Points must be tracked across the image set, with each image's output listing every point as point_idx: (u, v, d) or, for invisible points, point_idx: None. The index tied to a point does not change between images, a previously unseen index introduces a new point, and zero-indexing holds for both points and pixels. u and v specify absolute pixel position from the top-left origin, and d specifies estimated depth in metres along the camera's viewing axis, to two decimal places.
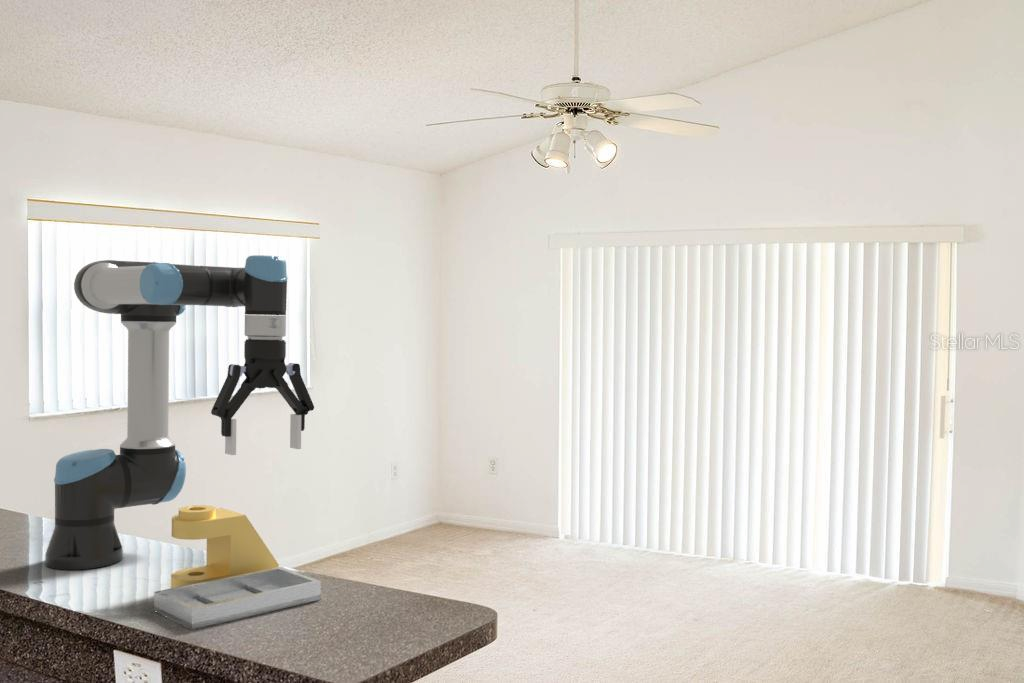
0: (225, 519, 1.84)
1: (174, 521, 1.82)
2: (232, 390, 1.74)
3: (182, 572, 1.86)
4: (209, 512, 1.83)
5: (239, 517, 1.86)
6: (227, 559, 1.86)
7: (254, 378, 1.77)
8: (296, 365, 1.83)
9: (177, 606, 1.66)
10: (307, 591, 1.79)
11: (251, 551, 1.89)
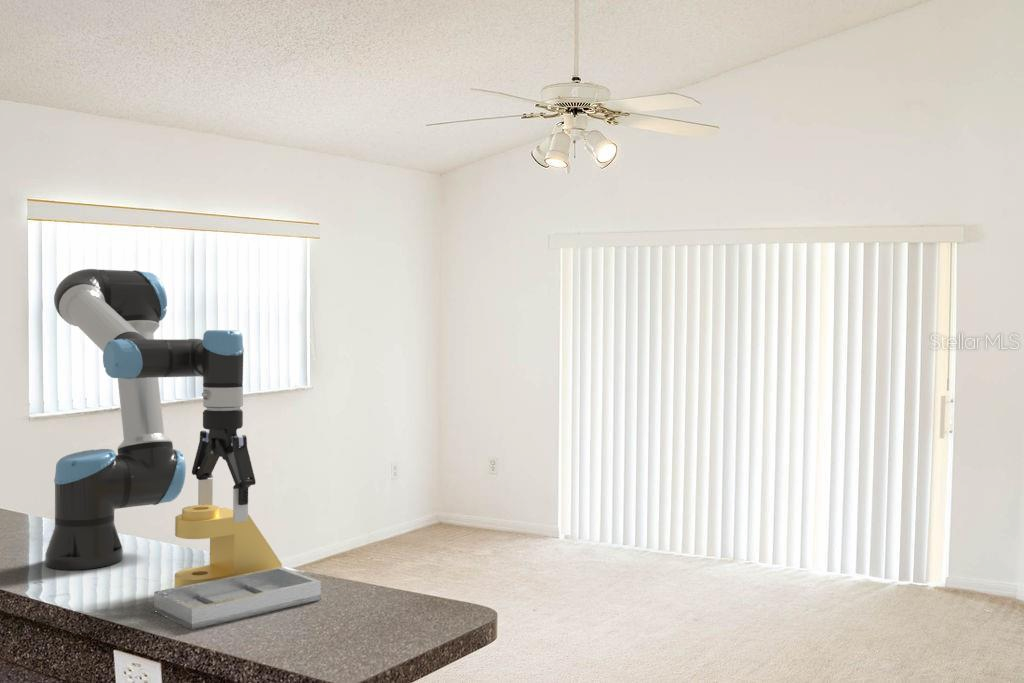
0: (228, 519, 1.85)
1: (178, 521, 1.82)
2: (199, 453, 1.92)
3: (185, 571, 1.86)
4: (213, 512, 1.84)
5: None
6: (230, 558, 1.87)
7: None
8: (232, 437, 1.83)
9: (177, 606, 1.66)
10: (307, 591, 1.79)
11: (254, 550, 1.89)
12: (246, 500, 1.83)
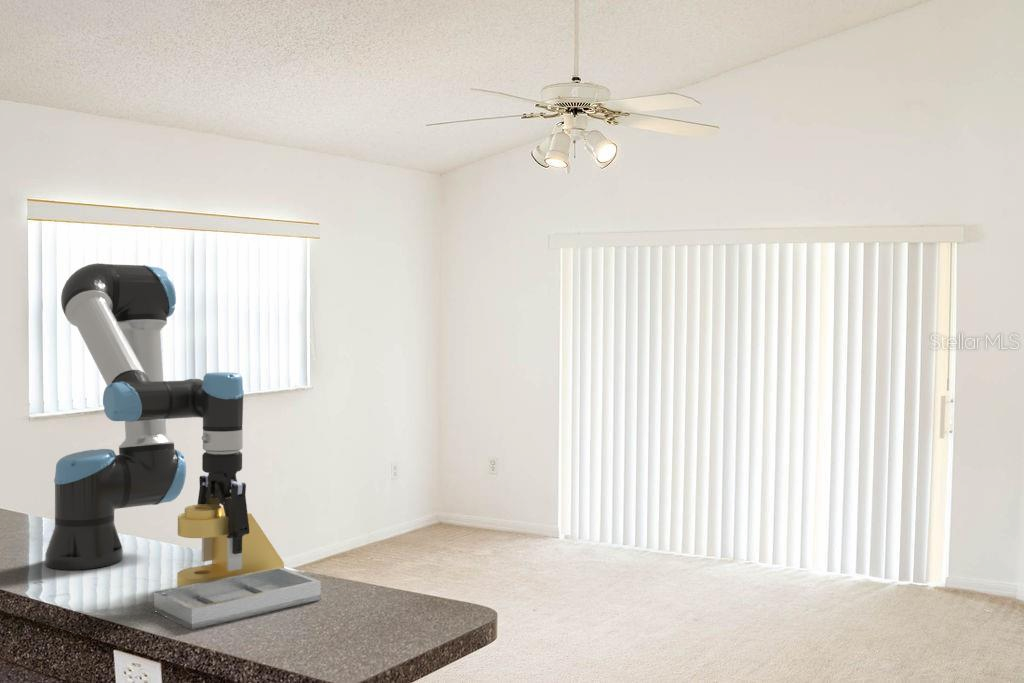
0: None
1: (180, 520, 1.82)
2: (200, 499, 1.92)
3: (188, 571, 1.87)
4: (215, 511, 1.84)
5: None
6: None
7: None
8: (232, 485, 1.83)
9: (177, 606, 1.66)
10: (307, 591, 1.79)
11: (257, 549, 1.89)
12: (240, 549, 1.85)
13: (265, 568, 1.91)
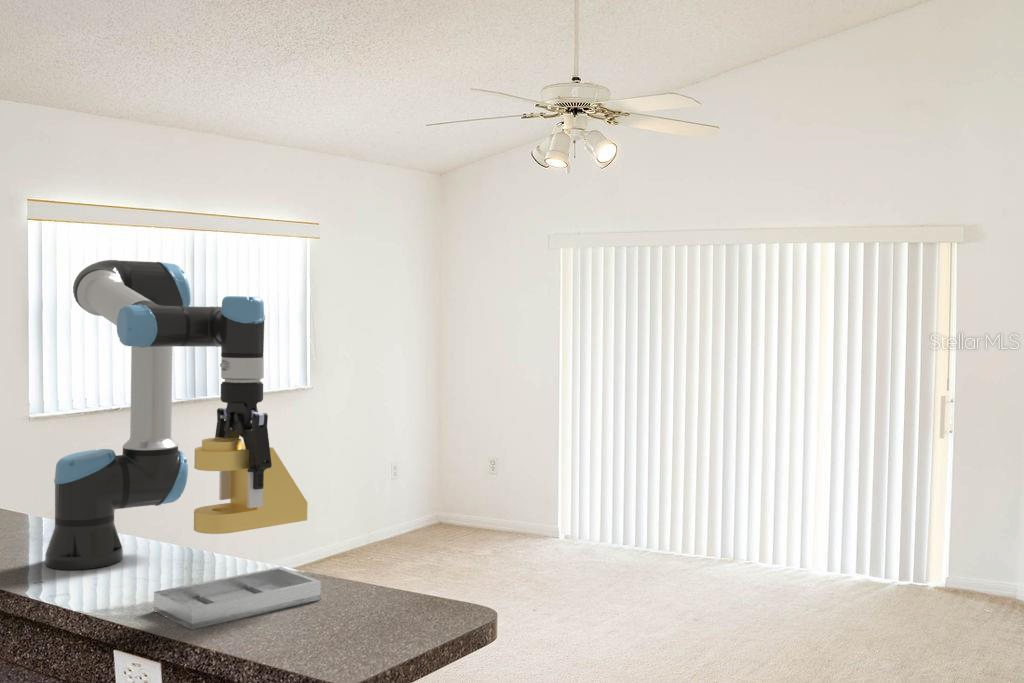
0: None
1: (197, 452, 1.70)
2: (218, 433, 1.79)
3: (205, 508, 1.74)
4: (235, 443, 1.71)
5: None
6: None
7: None
8: (253, 415, 1.71)
9: (177, 606, 1.66)
10: (307, 591, 1.79)
11: (279, 486, 1.76)
12: (261, 484, 1.72)
13: (287, 507, 1.78)
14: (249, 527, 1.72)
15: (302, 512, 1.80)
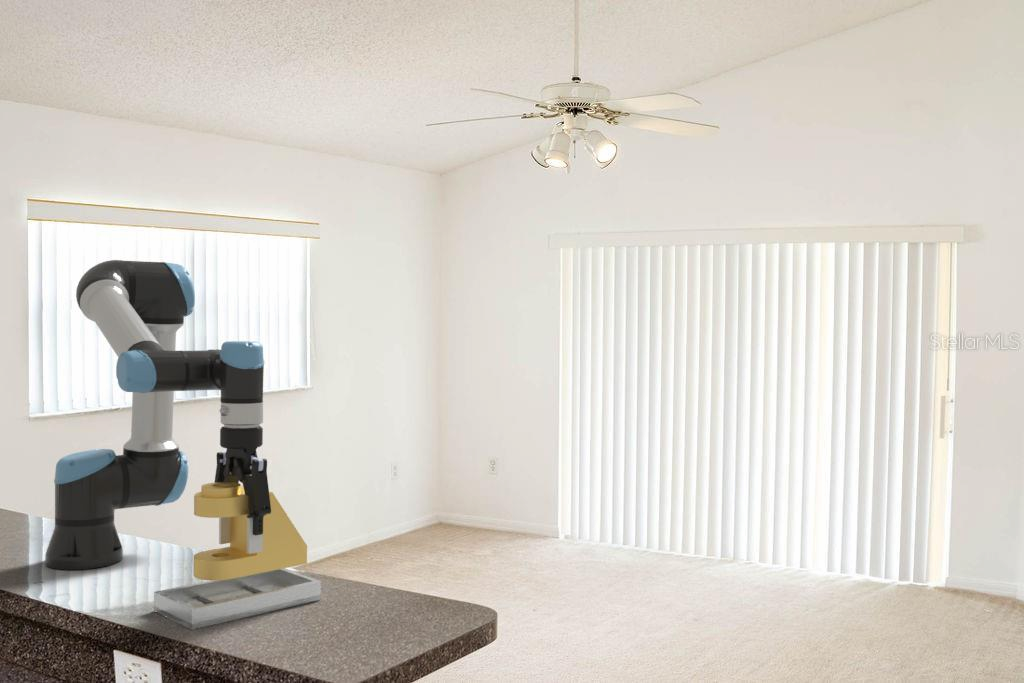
0: None
1: (197, 498, 1.70)
2: (217, 477, 1.79)
3: (205, 553, 1.74)
4: (234, 489, 1.71)
5: None
6: None
7: None
8: (252, 461, 1.71)
9: (177, 606, 1.66)
10: (307, 591, 1.79)
11: (278, 531, 1.77)
12: (261, 530, 1.72)
13: (287, 551, 1.78)
14: (249, 573, 1.72)
15: (302, 556, 1.80)
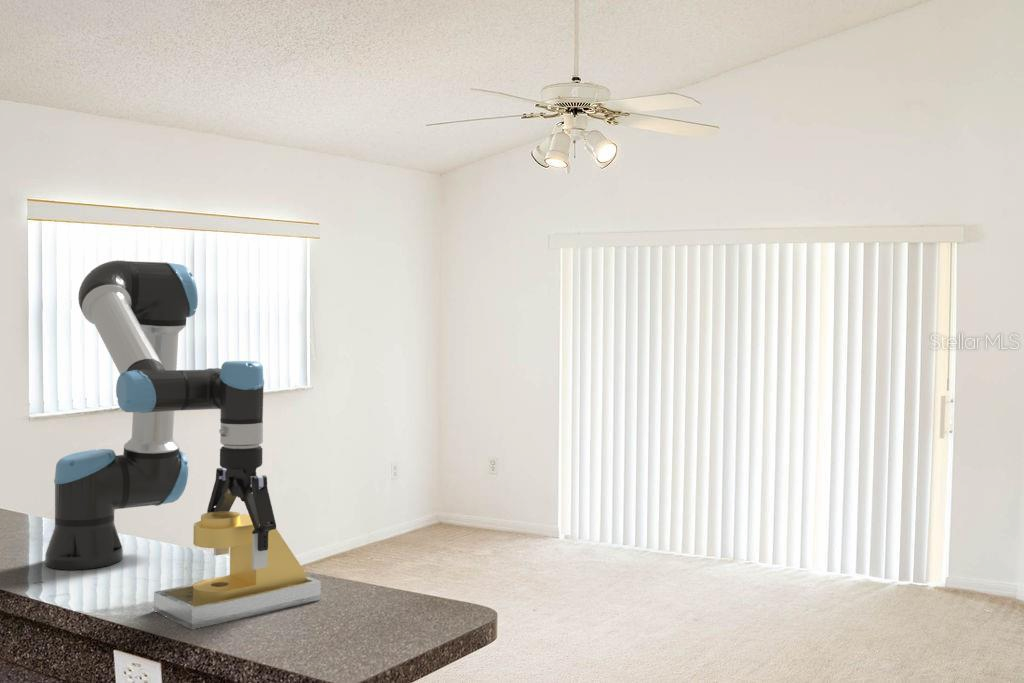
0: (250, 526, 1.73)
1: (196, 528, 1.70)
2: (215, 492, 1.80)
3: (204, 582, 1.74)
4: (233, 519, 1.72)
5: None
6: (252, 569, 1.74)
7: None
8: (252, 478, 1.71)
9: (177, 606, 1.66)
10: (307, 591, 1.79)
11: (278, 560, 1.77)
12: (266, 546, 1.71)
13: (286, 580, 1.78)
14: None
15: None
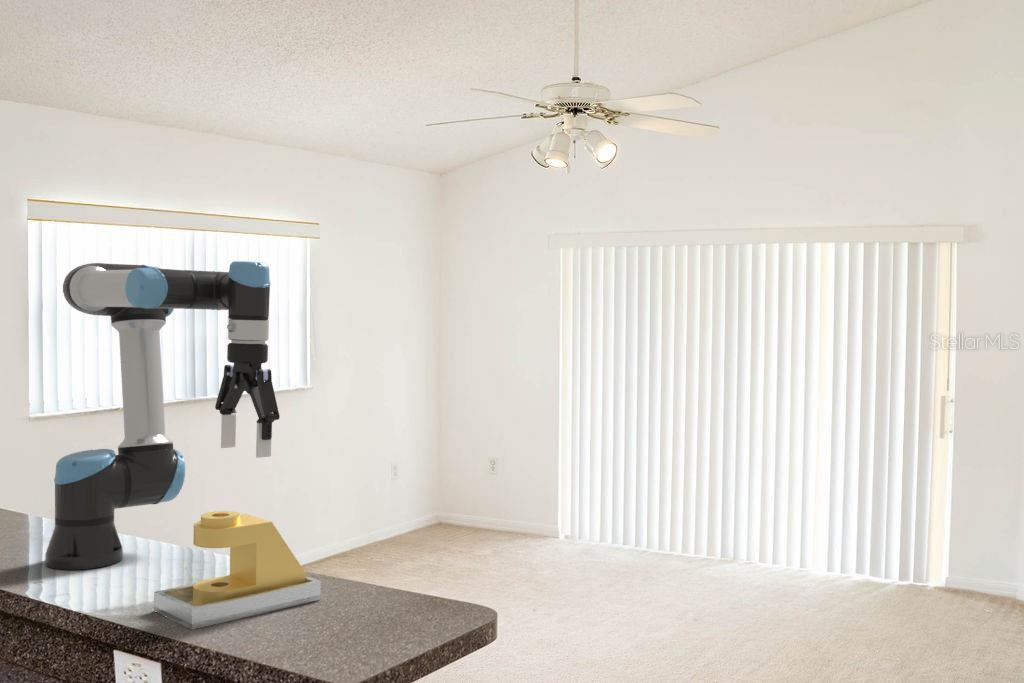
0: (250, 526, 1.73)
1: (196, 528, 1.70)
2: (222, 388, 1.89)
3: (204, 582, 1.74)
4: (233, 519, 1.72)
5: (265, 524, 1.75)
6: (252, 569, 1.74)
7: None
8: (257, 371, 1.79)
9: (177, 606, 1.66)
10: (307, 591, 1.79)
11: (278, 560, 1.77)
12: (269, 435, 1.79)
13: (286, 580, 1.78)
14: None
15: None
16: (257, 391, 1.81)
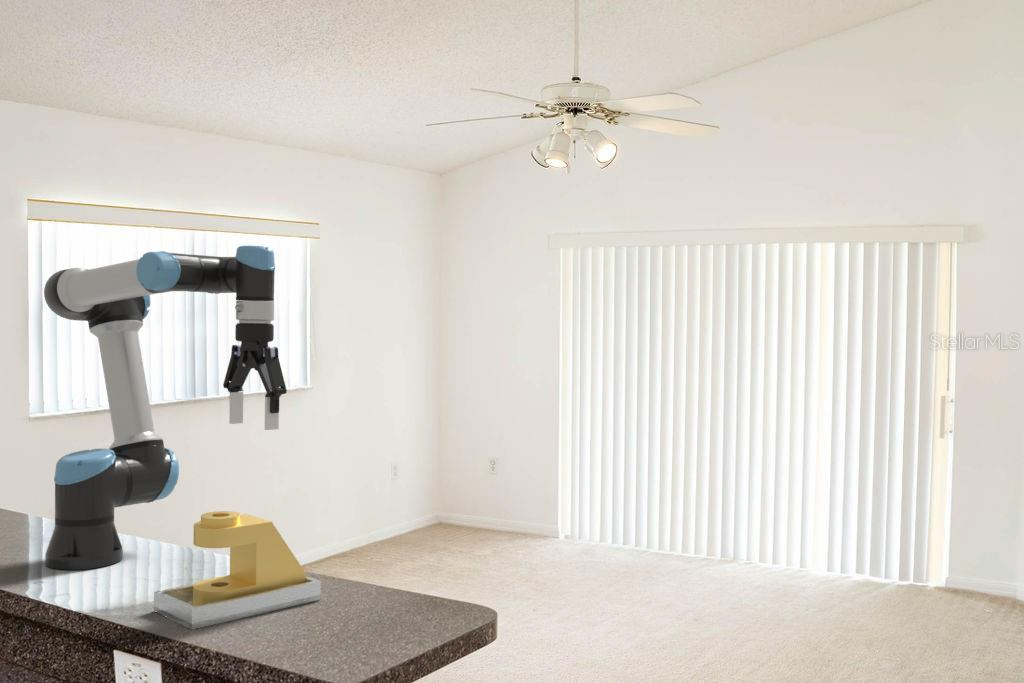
0: (250, 526, 1.73)
1: (196, 528, 1.70)
2: (230, 367, 1.99)
3: (204, 582, 1.74)
4: (233, 519, 1.72)
5: (265, 524, 1.75)
6: (252, 569, 1.74)
7: None
8: (265, 348, 1.90)
9: (177, 606, 1.66)
10: (307, 591, 1.79)
11: (278, 560, 1.77)
12: (277, 409, 1.90)
13: (286, 580, 1.78)
14: None
15: None
16: (264, 368, 1.92)
